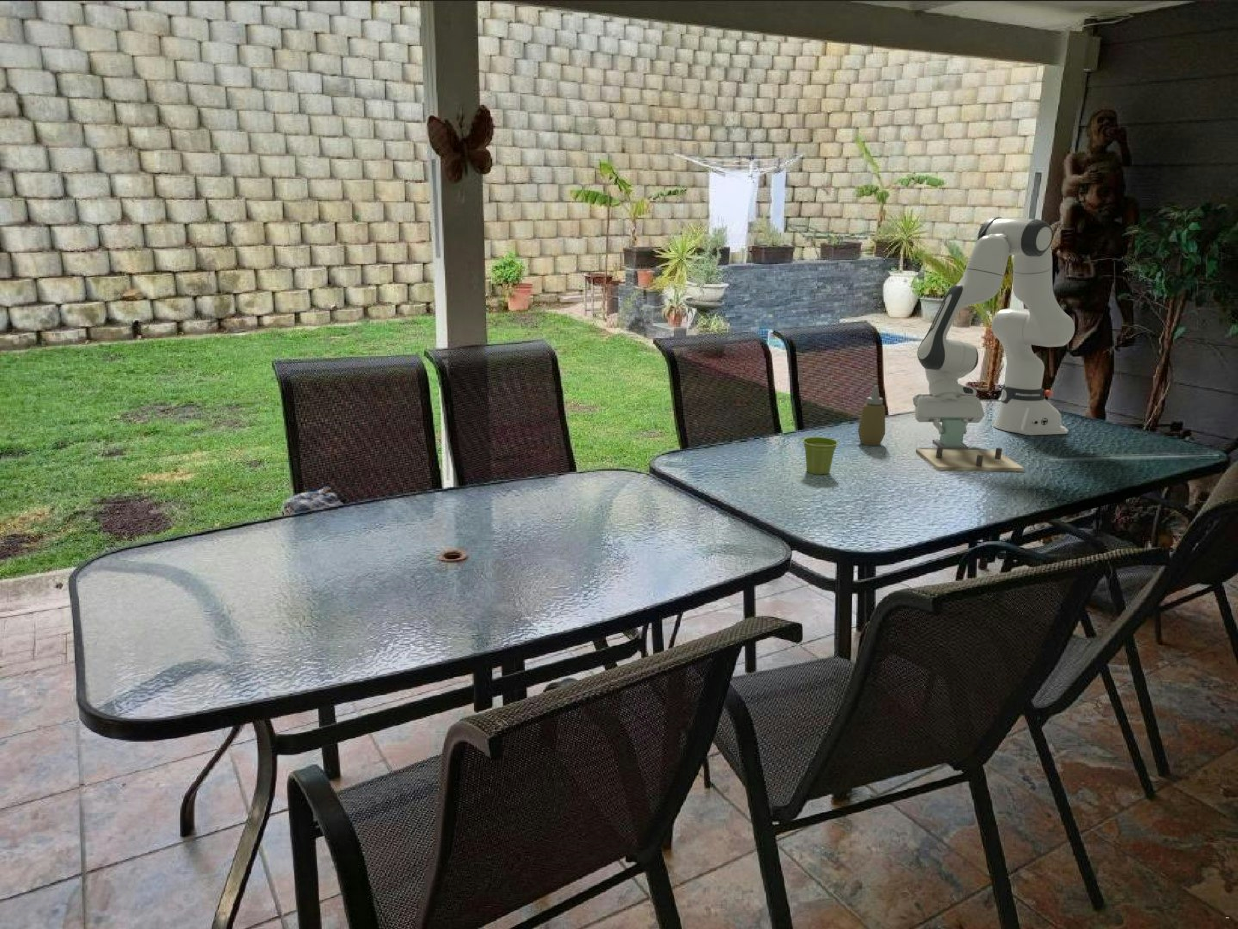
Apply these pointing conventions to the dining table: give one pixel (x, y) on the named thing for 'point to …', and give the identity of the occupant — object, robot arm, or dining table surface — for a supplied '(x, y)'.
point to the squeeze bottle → (872, 420)
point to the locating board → (968, 460)
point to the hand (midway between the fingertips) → (953, 433)
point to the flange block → (952, 435)
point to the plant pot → (819, 454)
